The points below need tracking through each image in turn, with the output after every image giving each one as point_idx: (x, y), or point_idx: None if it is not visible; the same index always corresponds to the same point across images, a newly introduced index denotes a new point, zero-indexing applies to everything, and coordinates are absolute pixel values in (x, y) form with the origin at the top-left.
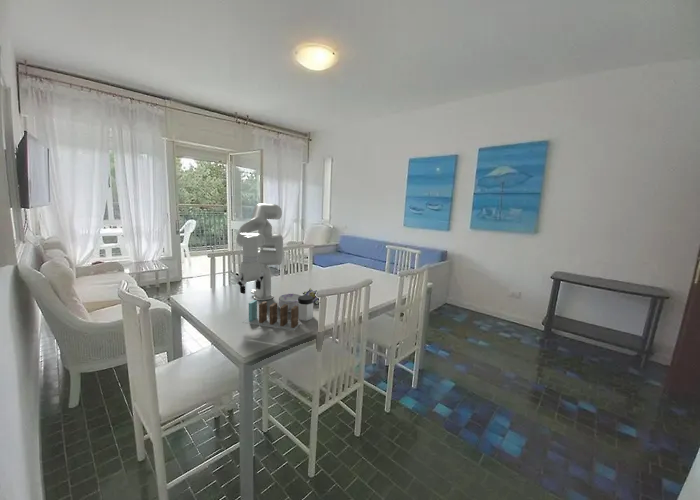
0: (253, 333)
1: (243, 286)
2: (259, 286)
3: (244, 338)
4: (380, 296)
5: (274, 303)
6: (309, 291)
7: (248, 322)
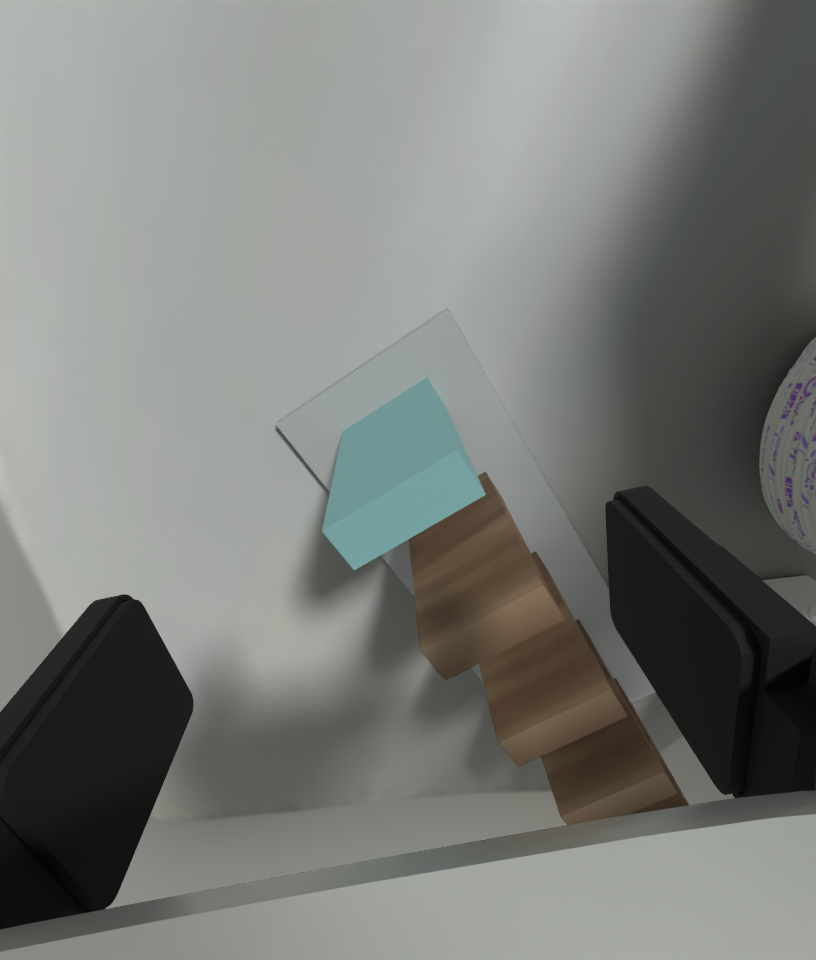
0: (287, 643)
1: (48, 906)
2: (651, 683)
3: (204, 672)
4: None
5: (595, 709)
6: None
7: (326, 461)
